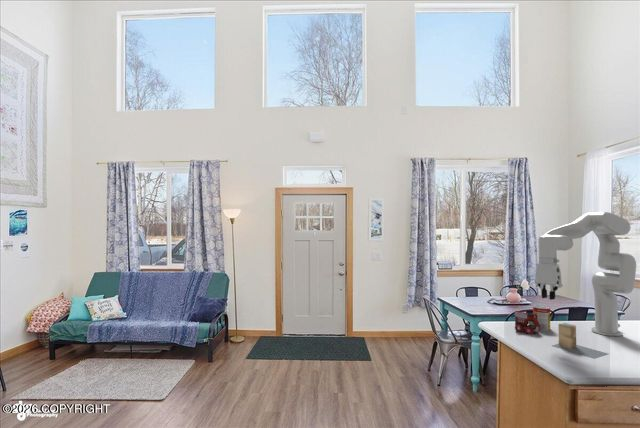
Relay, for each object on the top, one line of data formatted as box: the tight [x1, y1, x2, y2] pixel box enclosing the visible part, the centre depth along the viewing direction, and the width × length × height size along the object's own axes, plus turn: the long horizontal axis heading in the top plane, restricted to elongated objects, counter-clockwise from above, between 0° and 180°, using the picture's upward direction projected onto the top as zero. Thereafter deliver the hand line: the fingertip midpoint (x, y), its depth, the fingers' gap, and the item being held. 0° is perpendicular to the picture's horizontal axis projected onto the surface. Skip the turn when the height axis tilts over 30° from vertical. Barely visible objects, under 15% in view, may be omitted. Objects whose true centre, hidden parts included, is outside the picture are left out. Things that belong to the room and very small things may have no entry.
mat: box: [551, 343, 609, 359], centre depth 164 cm, size 12×18×1 cm, turn 27°
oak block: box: [557, 322, 577, 349], centre depth 169 cm, size 5×5×10 cm
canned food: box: [532, 304, 551, 332], centre depth 197 cm, size 8×8×12 cm
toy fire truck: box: [514, 310, 541, 335], centre depth 191 cm, size 7×12×10 cm, turn 37°
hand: (548, 298), depth 176 cm, fingers open, 3 cm apart
